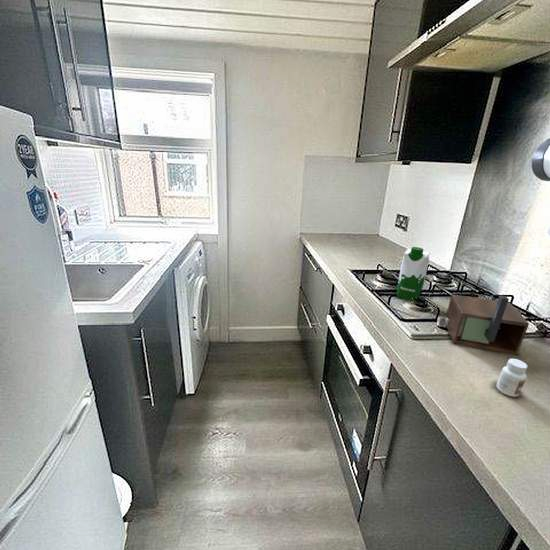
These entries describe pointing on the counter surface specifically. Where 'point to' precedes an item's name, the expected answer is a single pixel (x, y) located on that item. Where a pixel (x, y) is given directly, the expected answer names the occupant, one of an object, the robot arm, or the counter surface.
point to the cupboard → (478, 308)
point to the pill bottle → (512, 377)
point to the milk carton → (412, 273)
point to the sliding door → (485, 325)
